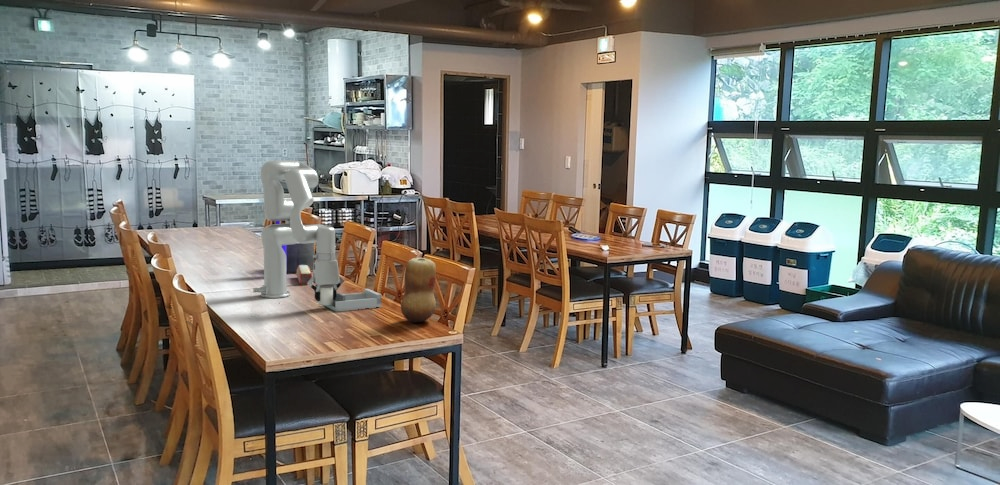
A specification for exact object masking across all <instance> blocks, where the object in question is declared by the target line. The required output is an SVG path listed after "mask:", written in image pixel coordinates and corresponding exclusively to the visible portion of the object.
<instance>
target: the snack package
mask: <svg viewBox="0 0 1000 485" xmlns="http://www.w3.org/2000/svg"><path fill="white" fill-rule="evenodd" d="M296 272H297V273H296V277H297V280H298V282H299V285H301V286H309V285H308V284H307V282H308V281H309V280H310V279H311V278H312V277H313V272H312V271H310V268H309V266H307V265H299V266H298V267H297V271H296Z"/></svg>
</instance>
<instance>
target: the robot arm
mask: <svg viewBox="0 0 1000 485" xmlns="http://www.w3.org/2000/svg"><path fill="white" fill-rule="evenodd" d="M260 180H261V185H262V189H263V210H264V217H265V219H266V220H267V221H269V222H276V221H280V222H282V221H283V222H285V223H280V224H276V223H274V224H269V225H266V226H264V227H263V228H262V229H261V234H260V236H261V237H260V238H261V244H262V248H263V284H262V285H261V286H260V287H253V288H252V292H253V293H260V297H263V298H268V299H279V298H280V299H281V298H286V297H289V296H291V291H288V290H287V288H288V287H287V273H286V254H285V252H284V250H283V249H282V247H281V246H283V245H292V244H296V243H298V242H299V243H301V244H306V243H314V244H315V243H316V247H315V248H316V251H315V253H314V255H313V258H314V268H313V271H312V276H313V277H312V278H311V279H310V280H309V281H308V282H307V284H308V285H307V286H309V287H310V288H311V289H312V290H313V291H314V299H315V301H316V302H318V301H320V292H319V289H320V286H321V285H333V300H336V292H337V291H338V289H339V288H340V287H341V285H343V283H344V282H345V280H344V279H343V277H342V276H340V270H339V263H338V262H339V261H338V260H337V259H336V228H334V227H333V226H326V225H325V224H320V223H319V224H303V221H302V213H301V212H302V211H304V210H305V209H307V208H309V207H310V206H312V204H313V203H314V201H315V200H314V198H313V194H312V192H311V189H314V188H316V187H317V186H318V185H319V176H318V173H317V172H316V170H315V169H314V168H312V167H311V166H309V165H308V164H306V163H304V162H302V161H300V160H294V159H293V160H290V159H289V160H288V159H287V160H286V159H285V160H284V159H282V160H281V159H275V160H269V161H266V162H265V163H263V165H262V166H261V168H260ZM280 181H285V185H286V188H287V191H288V193H289V196H290V198H285V190H284V187H283V185H282V184H281V182H280ZM315 259H316V260H315Z"/></svg>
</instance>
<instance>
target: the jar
mask: <svg viewBox="0 0 1000 485" xmlns="http://www.w3.org/2000/svg"><path fill="white" fill-rule="evenodd" d="M319 292H320V301H317V304H318V305H320V306H324V305H332V304H333V285H321V286H320V289H319ZM332 306H333V305H332Z"/></svg>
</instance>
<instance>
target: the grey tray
mask: <svg viewBox="0 0 1000 485" xmlns="http://www.w3.org/2000/svg"><path fill="white" fill-rule="evenodd" d="M341 294H342V295H345V301H338V302H335V305H334V304H332V305H323V306H324V307H326V308H328V309H330V310H331V311H333V312H337V313H338V312H339V313H340V312H347V311H354V310H355V311H357V310H358V309H359V310H366V309H365V308H369V309H376V307H379V308H382V294H381V293H379V292H376V291H375V290H372V289H370V288H365V289H363V292H354V293H341Z"/></svg>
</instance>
